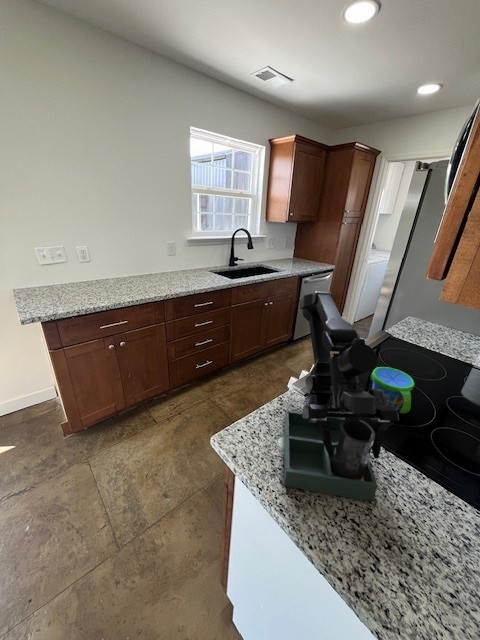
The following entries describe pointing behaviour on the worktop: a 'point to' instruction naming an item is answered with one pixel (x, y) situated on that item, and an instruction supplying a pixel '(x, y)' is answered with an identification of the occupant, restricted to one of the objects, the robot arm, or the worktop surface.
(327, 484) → the divided compartment tray
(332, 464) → the grey tumbler
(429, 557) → the worktop surface
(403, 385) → the snack cup
